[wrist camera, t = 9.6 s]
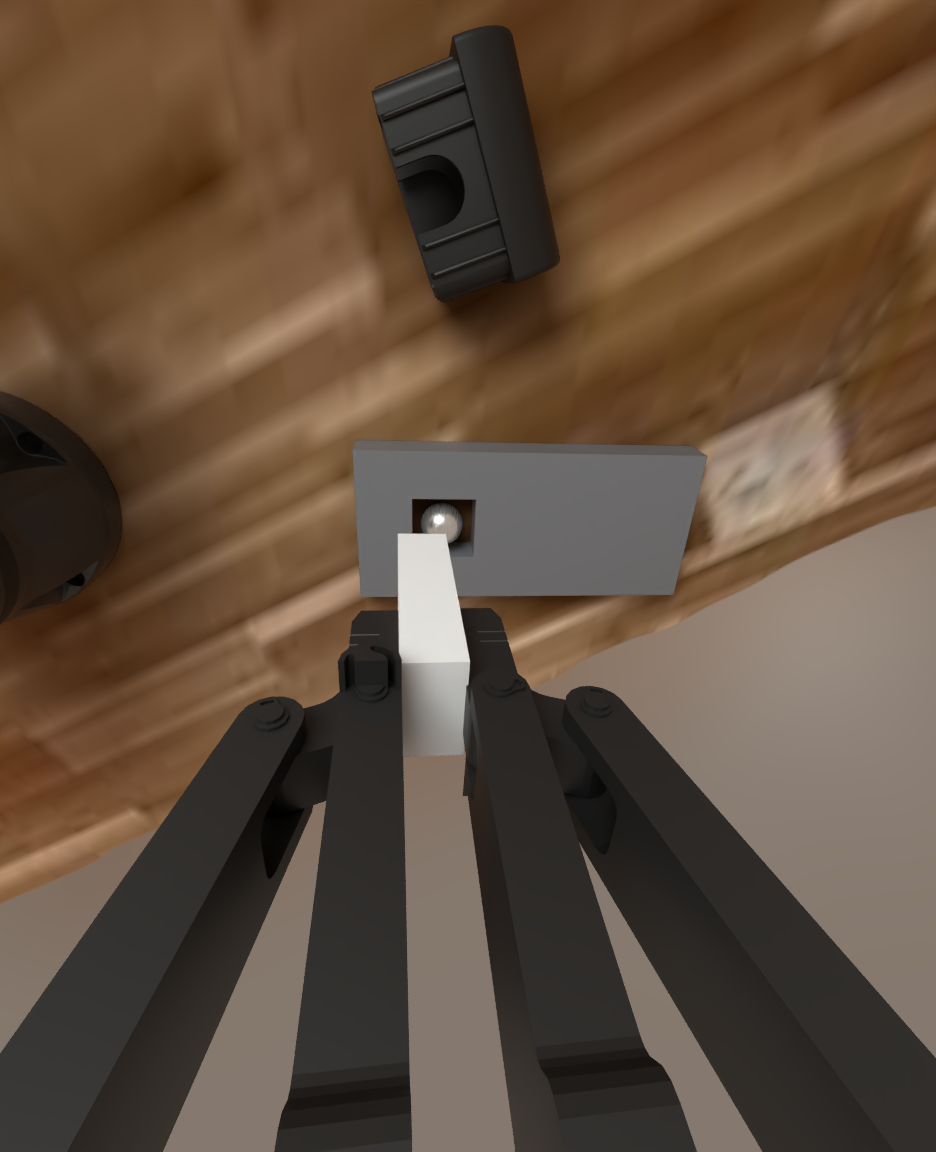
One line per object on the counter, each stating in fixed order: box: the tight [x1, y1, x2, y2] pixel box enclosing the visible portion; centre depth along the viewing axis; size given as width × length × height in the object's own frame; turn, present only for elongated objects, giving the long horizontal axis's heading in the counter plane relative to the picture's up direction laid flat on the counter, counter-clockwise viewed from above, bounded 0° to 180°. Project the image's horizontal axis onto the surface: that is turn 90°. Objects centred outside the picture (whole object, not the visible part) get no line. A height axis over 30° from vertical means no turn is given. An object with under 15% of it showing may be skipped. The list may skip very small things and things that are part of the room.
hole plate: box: [353, 440, 707, 597], centre depth 41 cm, size 24×11×2 cm, turn 88°
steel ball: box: [421, 503, 463, 544], centre depth 40 cm, size 3×3×3 cm
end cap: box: [372, 25, 560, 302], centre depth 29 cm, size 10×7×7 cm
